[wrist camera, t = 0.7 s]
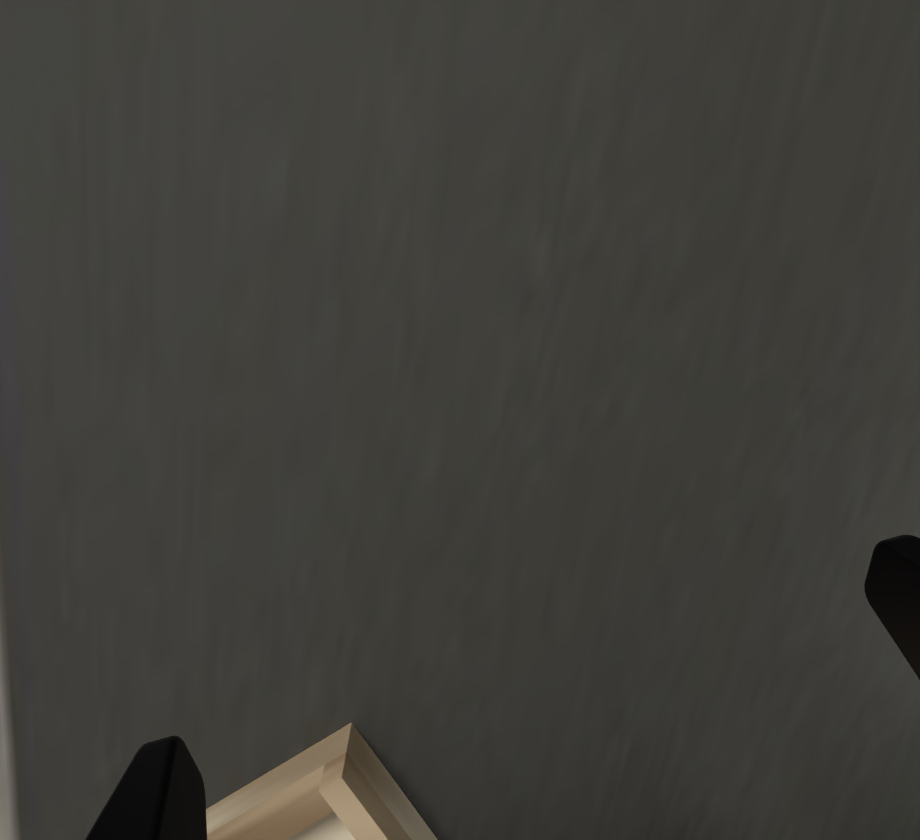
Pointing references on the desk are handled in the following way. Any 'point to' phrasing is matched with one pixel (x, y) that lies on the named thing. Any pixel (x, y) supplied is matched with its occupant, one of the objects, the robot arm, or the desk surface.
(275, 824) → the wooden tray
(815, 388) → the desk surface
